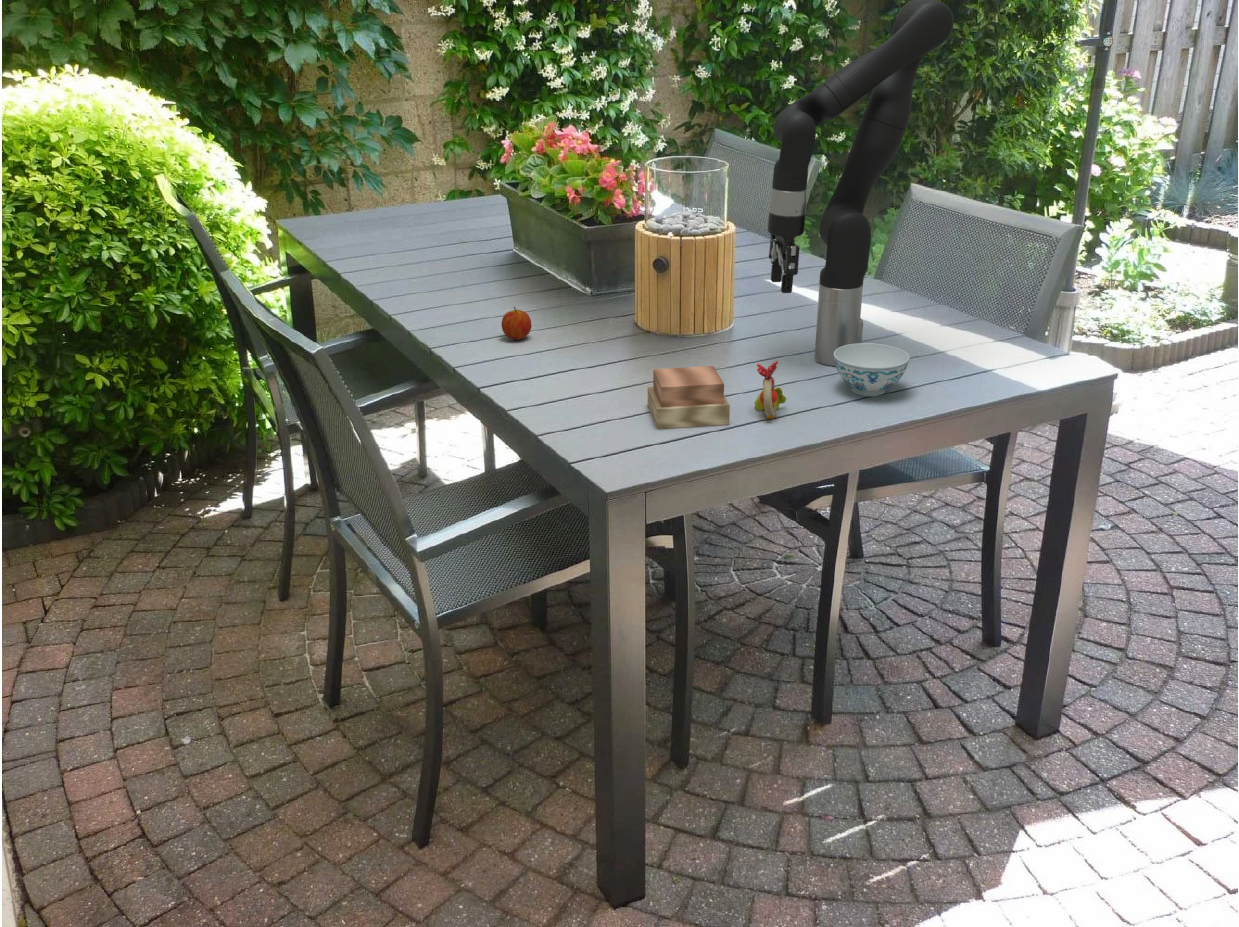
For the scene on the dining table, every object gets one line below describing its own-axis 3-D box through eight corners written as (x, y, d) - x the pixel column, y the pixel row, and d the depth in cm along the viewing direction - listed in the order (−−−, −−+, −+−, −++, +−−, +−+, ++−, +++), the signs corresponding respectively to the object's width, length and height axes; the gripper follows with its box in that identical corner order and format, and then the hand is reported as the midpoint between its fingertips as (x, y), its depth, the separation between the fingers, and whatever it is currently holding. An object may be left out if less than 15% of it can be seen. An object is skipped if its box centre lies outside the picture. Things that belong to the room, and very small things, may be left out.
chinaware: (879, 373, 237) (882, 339, 234) (920, 397, 224) (924, 361, 221) (817, 383, 232) (819, 348, 229) (856, 408, 220) (859, 371, 216)
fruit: (520, 332, 266) (519, 300, 262) (537, 339, 261) (536, 306, 257) (496, 338, 262) (494, 305, 258) (513, 345, 257) (511, 312, 253)
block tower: (716, 401, 224) (717, 363, 220) (729, 424, 213) (730, 385, 210) (647, 405, 222) (647, 367, 219) (657, 428, 212) (657, 389, 208)
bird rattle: (786, 428, 216) (786, 395, 222) (789, 388, 208) (788, 354, 214) (753, 427, 217) (754, 395, 223) (755, 387, 209) (756, 354, 214)
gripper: (814, 218, 224) (807, 296, 230) (795, 203, 236) (789, 277, 243) (778, 218, 223) (772, 296, 229) (761, 203, 235) (755, 278, 242)
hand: (780, 287), depth 236 cm, fingers open, 8 cm apart
